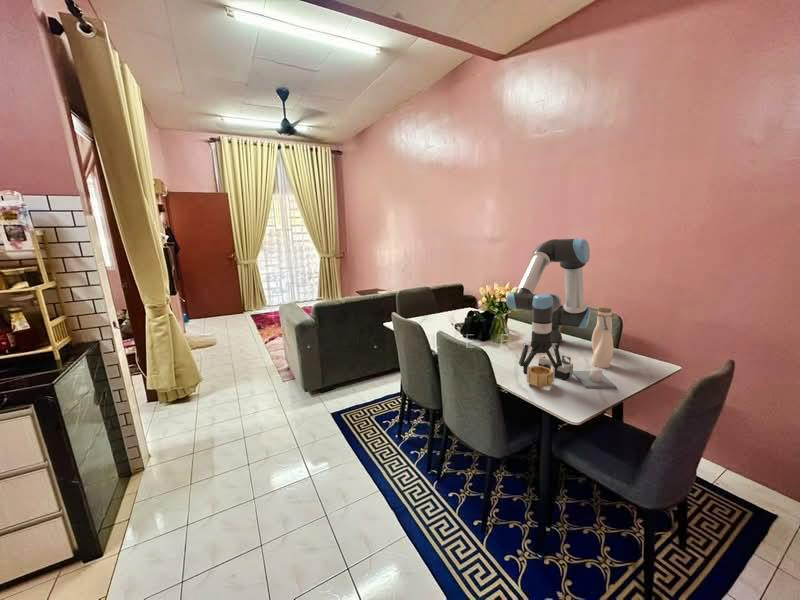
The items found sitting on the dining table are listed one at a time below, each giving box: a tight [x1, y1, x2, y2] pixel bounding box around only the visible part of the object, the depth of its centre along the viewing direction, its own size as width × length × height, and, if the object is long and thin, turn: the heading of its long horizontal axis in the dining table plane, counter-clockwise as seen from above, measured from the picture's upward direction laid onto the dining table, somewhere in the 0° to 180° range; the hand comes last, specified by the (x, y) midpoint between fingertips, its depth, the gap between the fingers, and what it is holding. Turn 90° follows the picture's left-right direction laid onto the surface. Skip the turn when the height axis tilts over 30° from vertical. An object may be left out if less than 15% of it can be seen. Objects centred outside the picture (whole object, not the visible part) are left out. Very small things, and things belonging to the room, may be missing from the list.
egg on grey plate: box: [572, 367, 617, 389], centre depth 141 cm, size 15×12×6 cm
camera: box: [537, 354, 574, 381], centre depth 148 cm, size 15×8×10 cm, turn 27°
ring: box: [528, 365, 553, 388], centre depth 139 cm, size 10×10×5 cm
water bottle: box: [590, 307, 615, 369], centre depth 153 cm, size 10×9×28 cm
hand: (539, 380), depth 139 cm, fingers closed on ring, 10 cm apart
